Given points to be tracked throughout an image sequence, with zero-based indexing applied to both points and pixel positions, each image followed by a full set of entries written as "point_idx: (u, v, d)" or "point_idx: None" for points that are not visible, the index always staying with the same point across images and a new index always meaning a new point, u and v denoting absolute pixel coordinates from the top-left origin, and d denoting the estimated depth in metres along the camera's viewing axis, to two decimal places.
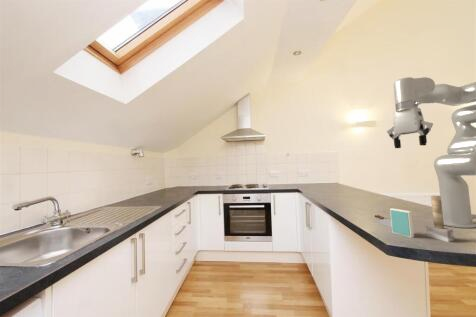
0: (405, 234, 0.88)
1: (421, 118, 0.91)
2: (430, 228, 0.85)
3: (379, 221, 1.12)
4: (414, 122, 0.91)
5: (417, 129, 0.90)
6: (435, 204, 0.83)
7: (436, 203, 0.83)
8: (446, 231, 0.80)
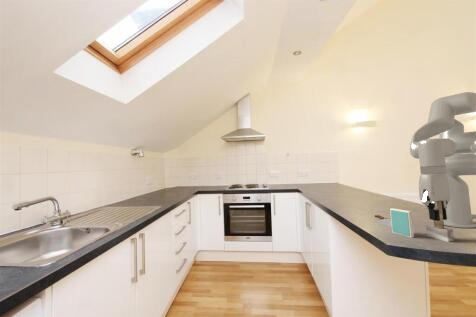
0: (405, 234, 0.88)
1: None
2: (430, 228, 0.85)
3: (379, 221, 1.12)
4: (449, 190, 0.83)
5: (449, 198, 0.83)
6: None
7: None
8: (446, 231, 0.80)
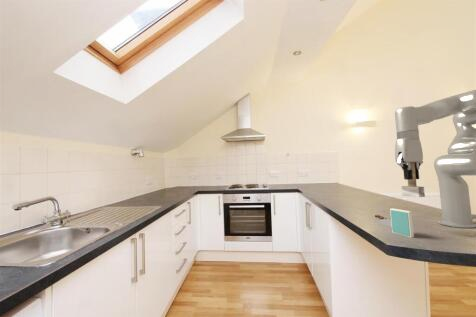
0: (405, 234, 0.88)
1: None
2: (405, 188, 0.95)
3: (379, 221, 1.12)
4: (421, 153, 0.93)
5: None
6: None
7: None
8: (417, 188, 0.90)
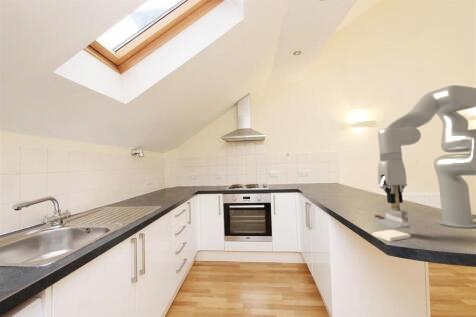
0: None
1: None
2: (388, 211, 0.92)
3: (379, 221, 1.12)
4: (404, 175, 0.90)
5: (405, 183, 0.90)
6: None
7: None
8: (400, 213, 0.87)
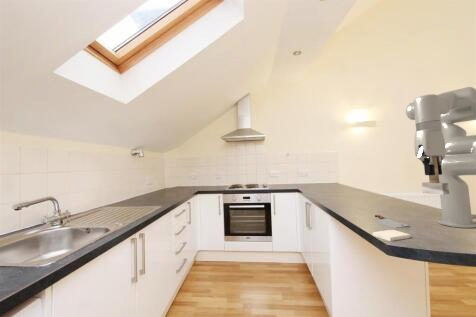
0: None
1: None
2: (426, 184, 0.86)
3: (379, 221, 1.12)
4: (444, 145, 0.84)
5: (444, 153, 0.84)
6: None
7: None
8: (441, 184, 0.81)
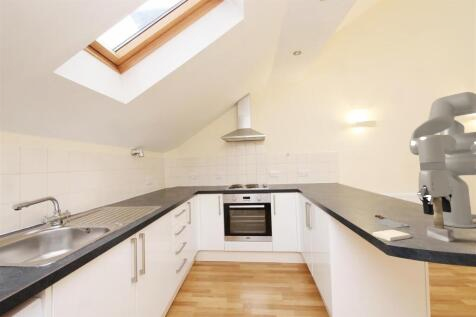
0: None
1: None
2: (430, 228, 0.85)
3: (379, 221, 1.12)
4: (448, 186, 0.83)
5: None
6: (435, 204, 0.83)
7: (436, 203, 0.83)
8: (446, 231, 0.80)
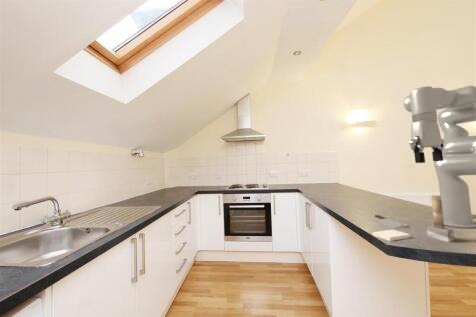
0: None
1: None
2: (430, 228, 0.85)
3: (379, 221, 1.12)
4: (439, 136, 0.86)
5: None
6: (435, 204, 0.83)
7: (436, 203, 0.83)
8: (446, 231, 0.80)
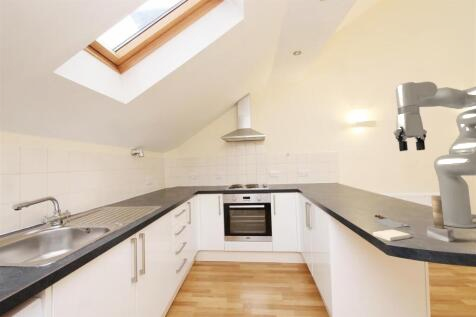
0: None
1: None
2: (430, 228, 0.85)
3: (379, 221, 1.12)
4: (421, 127, 0.95)
5: (422, 134, 0.96)
6: (435, 204, 0.83)
7: (436, 203, 0.83)
8: (446, 231, 0.80)
